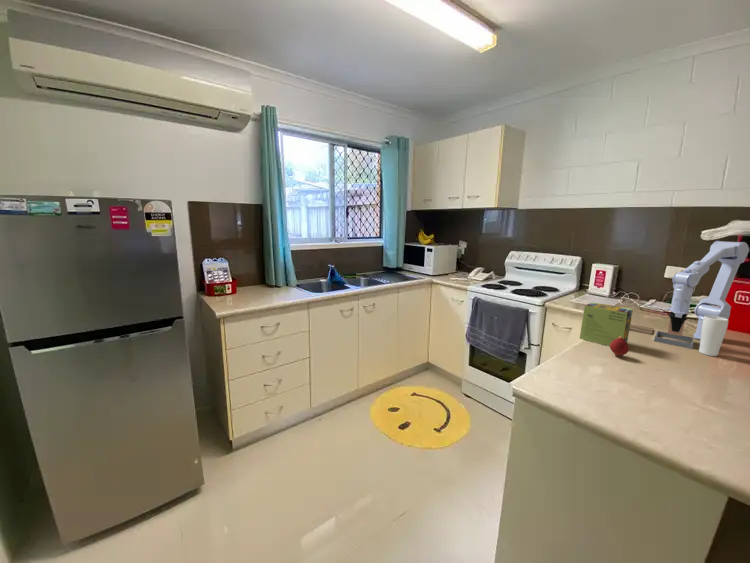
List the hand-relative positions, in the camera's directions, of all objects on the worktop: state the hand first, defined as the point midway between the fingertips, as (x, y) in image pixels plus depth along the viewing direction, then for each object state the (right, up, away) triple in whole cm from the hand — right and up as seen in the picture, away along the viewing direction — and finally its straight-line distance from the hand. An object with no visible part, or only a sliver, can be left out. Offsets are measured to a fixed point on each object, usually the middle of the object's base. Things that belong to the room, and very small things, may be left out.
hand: (675, 330), depth 139 cm
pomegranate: (-38, -8, -17) cm, 43 cm away
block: (0, -2, 0) cm, 2 cm away
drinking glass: (+1, -8, -13) cm, 15 cm away
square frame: (0, -5, +1) cm, 5 cm away
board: (-2, -2, +16) cm, 16 cm away
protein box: (-32, -5, -1) cm, 33 cm away
